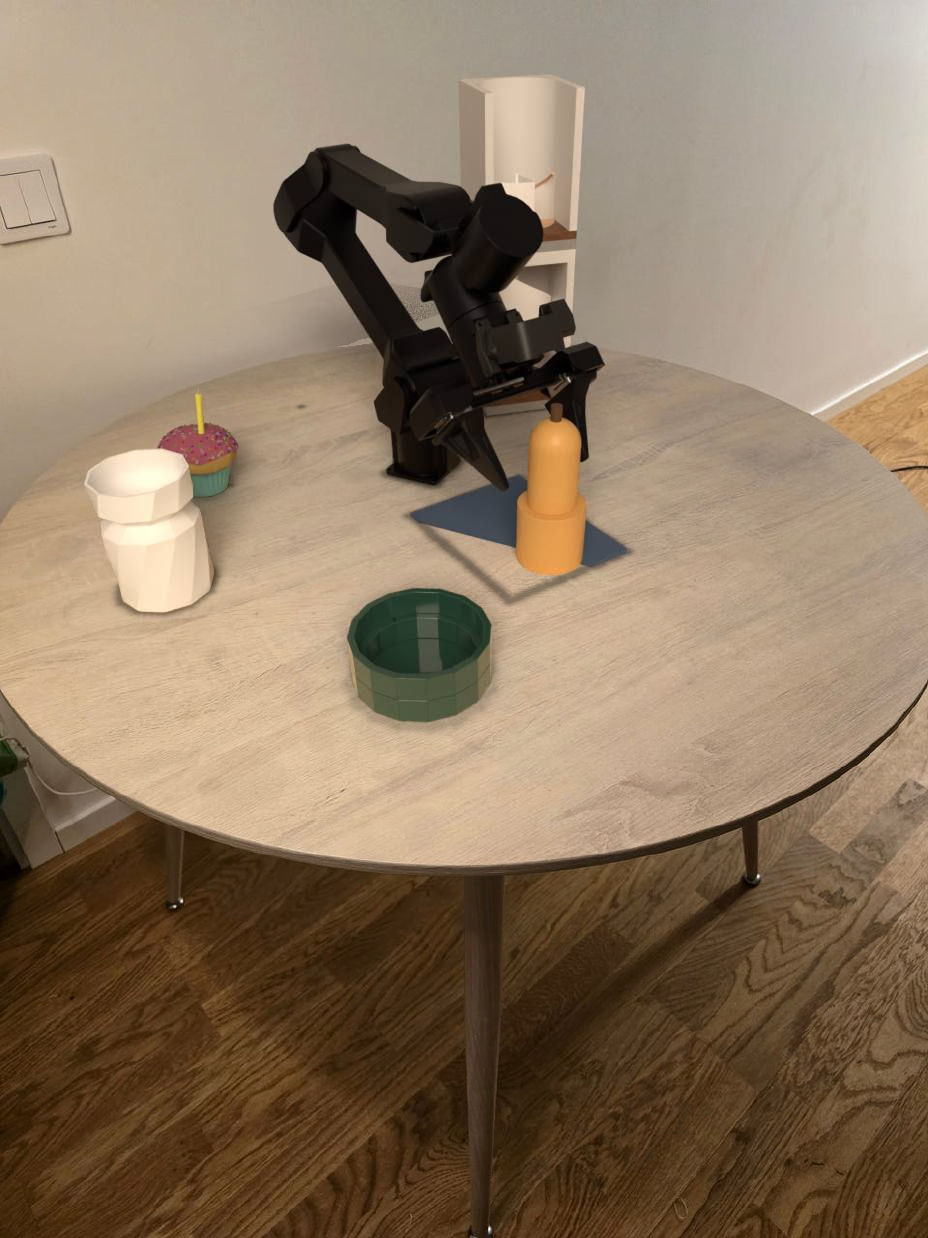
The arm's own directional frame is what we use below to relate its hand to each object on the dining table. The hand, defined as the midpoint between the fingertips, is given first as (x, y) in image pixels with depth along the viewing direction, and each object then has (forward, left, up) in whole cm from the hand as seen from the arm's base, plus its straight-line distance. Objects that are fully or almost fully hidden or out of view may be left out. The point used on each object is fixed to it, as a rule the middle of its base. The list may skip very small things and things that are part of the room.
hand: (546, 474), depth 79 cm
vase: (-30, -20, -9) cm, 37 cm away
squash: (+1, 0, -8) cm, 9 cm away
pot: (-2, -21, -9) cm, 22 cm away
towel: (-4, +2, -9) cm, 10 cm away
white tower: (-18, +33, -9) cm, 39 cm away
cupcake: (-39, -4, -9) cm, 40 cm away
